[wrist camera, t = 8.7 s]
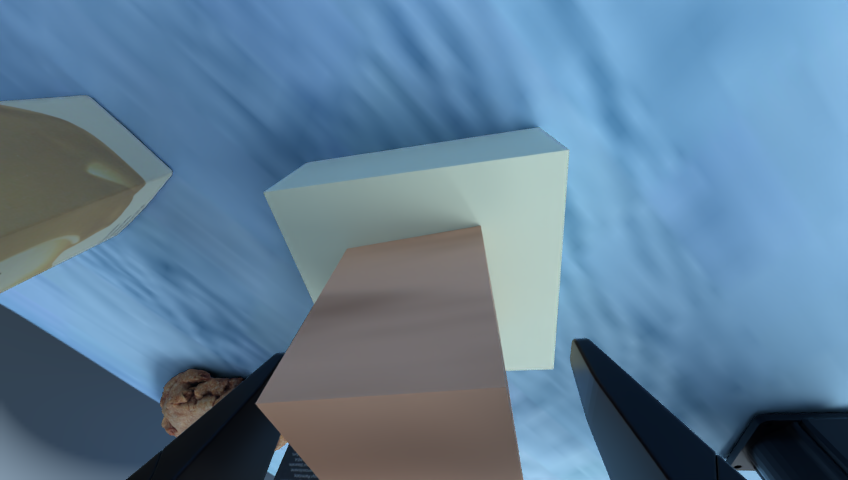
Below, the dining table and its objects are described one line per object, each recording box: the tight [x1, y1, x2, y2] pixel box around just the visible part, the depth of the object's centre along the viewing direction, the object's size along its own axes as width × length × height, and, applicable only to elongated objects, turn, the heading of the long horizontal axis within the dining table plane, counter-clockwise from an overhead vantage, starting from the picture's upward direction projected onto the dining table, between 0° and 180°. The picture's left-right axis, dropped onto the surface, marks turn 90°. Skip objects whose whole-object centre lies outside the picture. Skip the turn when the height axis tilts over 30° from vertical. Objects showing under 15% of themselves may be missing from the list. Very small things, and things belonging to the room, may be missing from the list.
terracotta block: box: [255, 226, 523, 480], centre depth 9 cm, size 5×5×6 cm
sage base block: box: [263, 127, 569, 371], centre depth 14 cm, size 10×10×4 cm
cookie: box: [160, 369, 287, 451], centre depth 23 cm, size 10×11×3 cm
